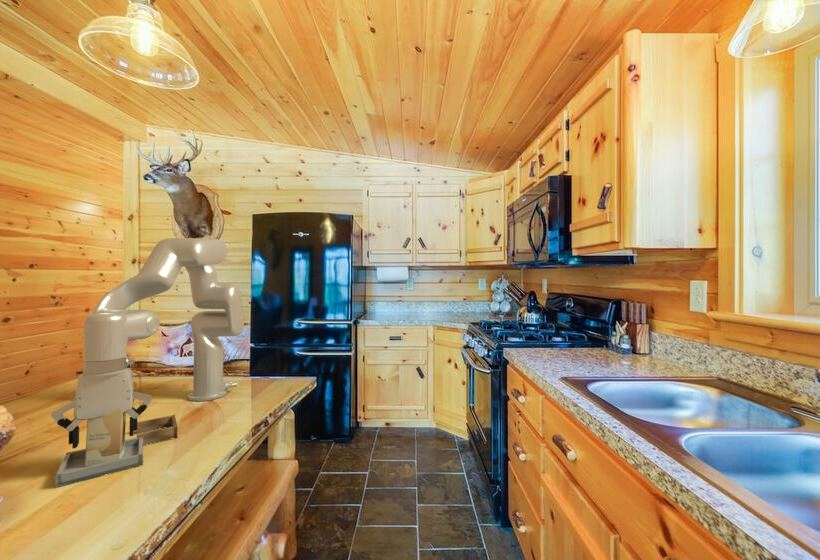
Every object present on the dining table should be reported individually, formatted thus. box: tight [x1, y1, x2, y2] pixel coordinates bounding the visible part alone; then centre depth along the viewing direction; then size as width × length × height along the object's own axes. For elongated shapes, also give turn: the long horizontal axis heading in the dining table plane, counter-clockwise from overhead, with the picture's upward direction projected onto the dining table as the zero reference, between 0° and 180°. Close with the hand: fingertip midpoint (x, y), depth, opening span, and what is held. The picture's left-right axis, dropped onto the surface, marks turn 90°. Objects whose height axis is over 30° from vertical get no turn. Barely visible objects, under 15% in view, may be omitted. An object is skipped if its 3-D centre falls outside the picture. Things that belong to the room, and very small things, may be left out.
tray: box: [55, 437, 144, 488], centre depth 78 cm, size 14×12×2 cm
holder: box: [136, 414, 178, 446], centre depth 93 cm, size 9×11×3 cm
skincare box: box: [85, 409, 127, 467], centre depth 78 cm, size 6×4×12 cm
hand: (104, 439), depth 78 cm, fingers open, 9 cm apart
